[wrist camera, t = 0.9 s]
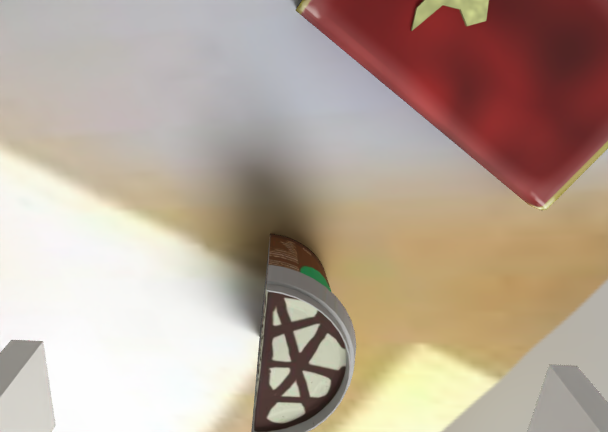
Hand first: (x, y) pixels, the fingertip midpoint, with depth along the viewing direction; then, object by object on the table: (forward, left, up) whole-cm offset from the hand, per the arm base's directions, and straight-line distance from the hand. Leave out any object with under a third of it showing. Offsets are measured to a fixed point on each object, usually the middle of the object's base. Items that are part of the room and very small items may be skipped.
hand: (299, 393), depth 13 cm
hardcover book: (-10, +11, -24) cm, 28 cm away
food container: (+10, +2, -23) cm, 26 cm away
